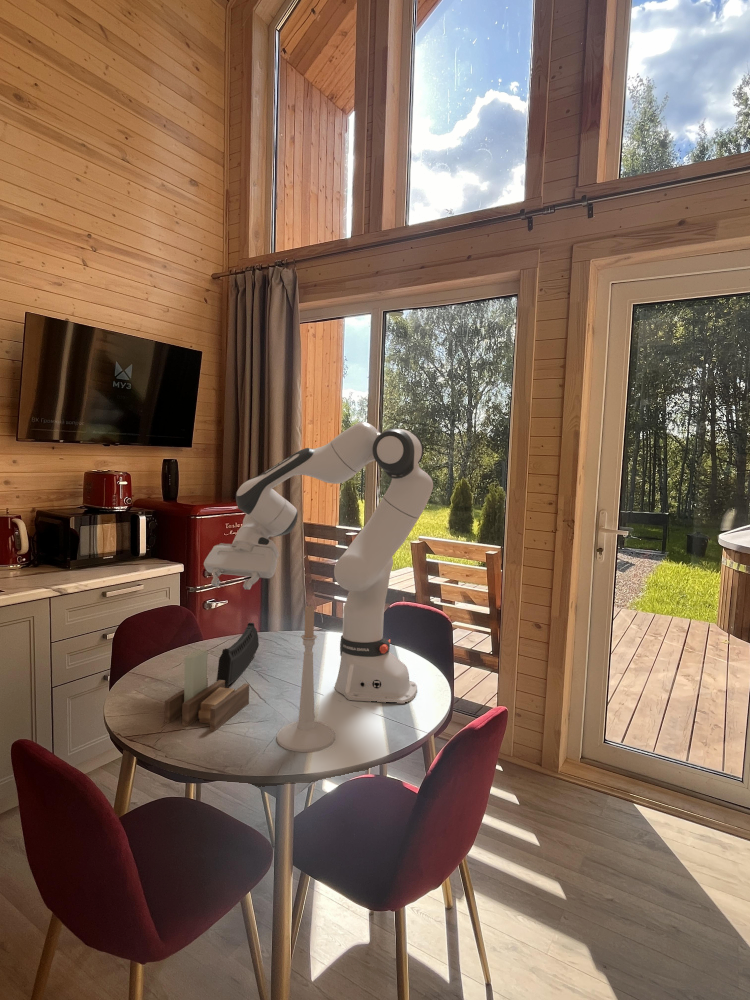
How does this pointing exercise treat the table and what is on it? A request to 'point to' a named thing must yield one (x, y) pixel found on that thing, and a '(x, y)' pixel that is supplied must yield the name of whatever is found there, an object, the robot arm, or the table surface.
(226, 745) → the table surface
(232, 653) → the magazine
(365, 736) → the table surface
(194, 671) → the tall panel
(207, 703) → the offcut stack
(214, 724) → the walnut rack
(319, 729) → the candlestick
